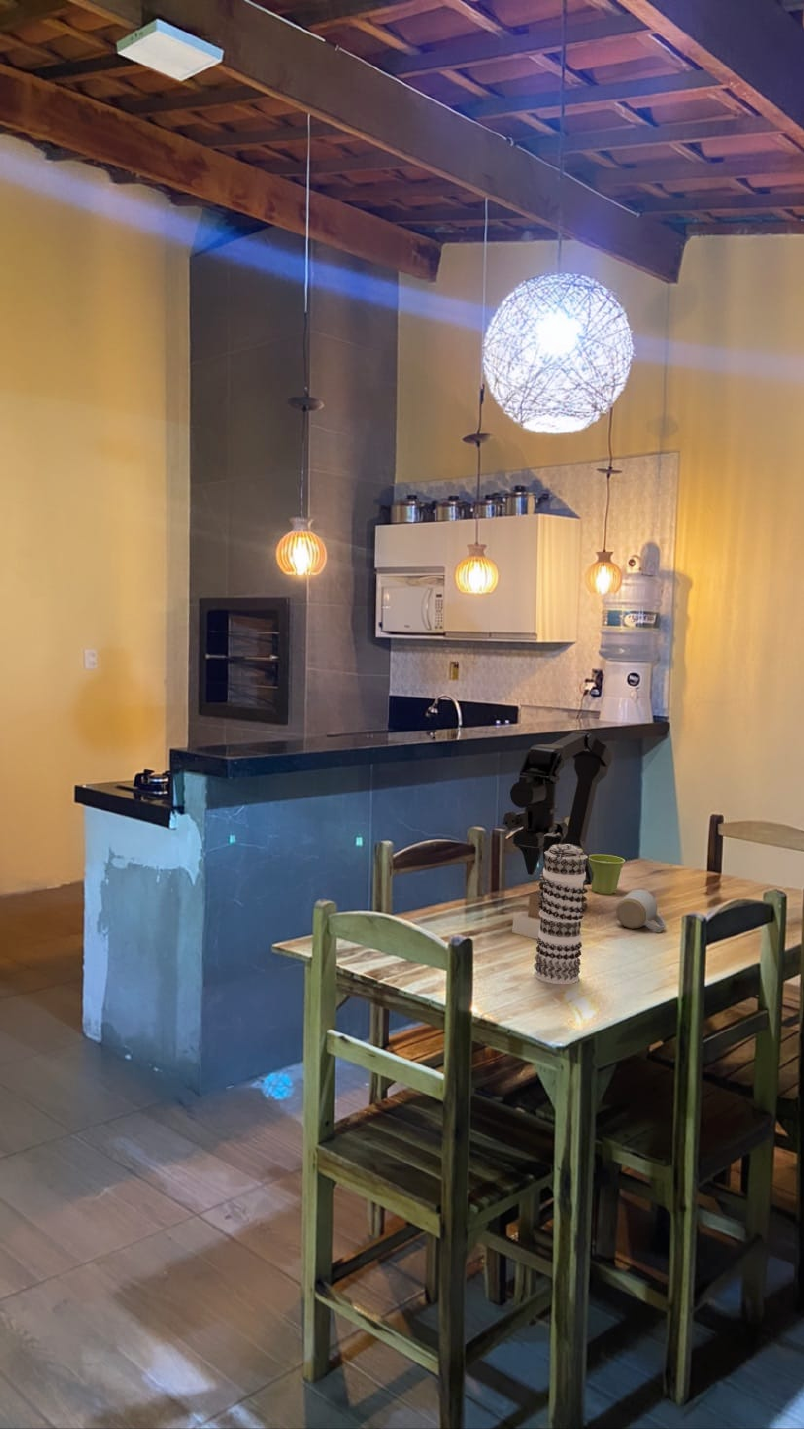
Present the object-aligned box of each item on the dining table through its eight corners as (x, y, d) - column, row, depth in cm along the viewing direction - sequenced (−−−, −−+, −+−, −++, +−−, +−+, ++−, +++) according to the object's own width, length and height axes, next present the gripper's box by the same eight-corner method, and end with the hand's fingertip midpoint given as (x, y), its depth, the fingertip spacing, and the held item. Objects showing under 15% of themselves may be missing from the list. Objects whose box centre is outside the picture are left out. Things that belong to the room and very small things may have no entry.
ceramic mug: (612, 926, 230) (616, 893, 229) (623, 918, 237) (627, 886, 236) (659, 936, 225) (662, 902, 224) (669, 928, 232) (672, 895, 231)
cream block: (534, 926, 227) (535, 908, 227) (569, 935, 222) (570, 917, 221) (512, 933, 221) (513, 915, 220) (547, 943, 215) (549, 925, 215)
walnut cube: (537, 912, 224) (539, 889, 224) (558, 916, 222) (560, 894, 221) (528, 916, 220) (529, 894, 220) (549, 921, 218) (551, 898, 217)
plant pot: (625, 897, 257) (628, 863, 257) (588, 895, 257) (591, 861, 257) (618, 888, 267) (621, 855, 266) (582, 886, 267) (584, 853, 266)
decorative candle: (543, 965, 199) (552, 839, 197) (588, 975, 194) (598, 846, 192) (524, 977, 191) (533, 846, 189) (570, 988, 186) (580, 854, 184)
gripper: (525, 792, 240) (522, 857, 242) (492, 803, 224) (488, 872, 226) (570, 798, 235) (566, 864, 236) (539, 809, 218) (535, 881, 220)
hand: (538, 870), depth 230 cm, fingers open, 9 cm apart
